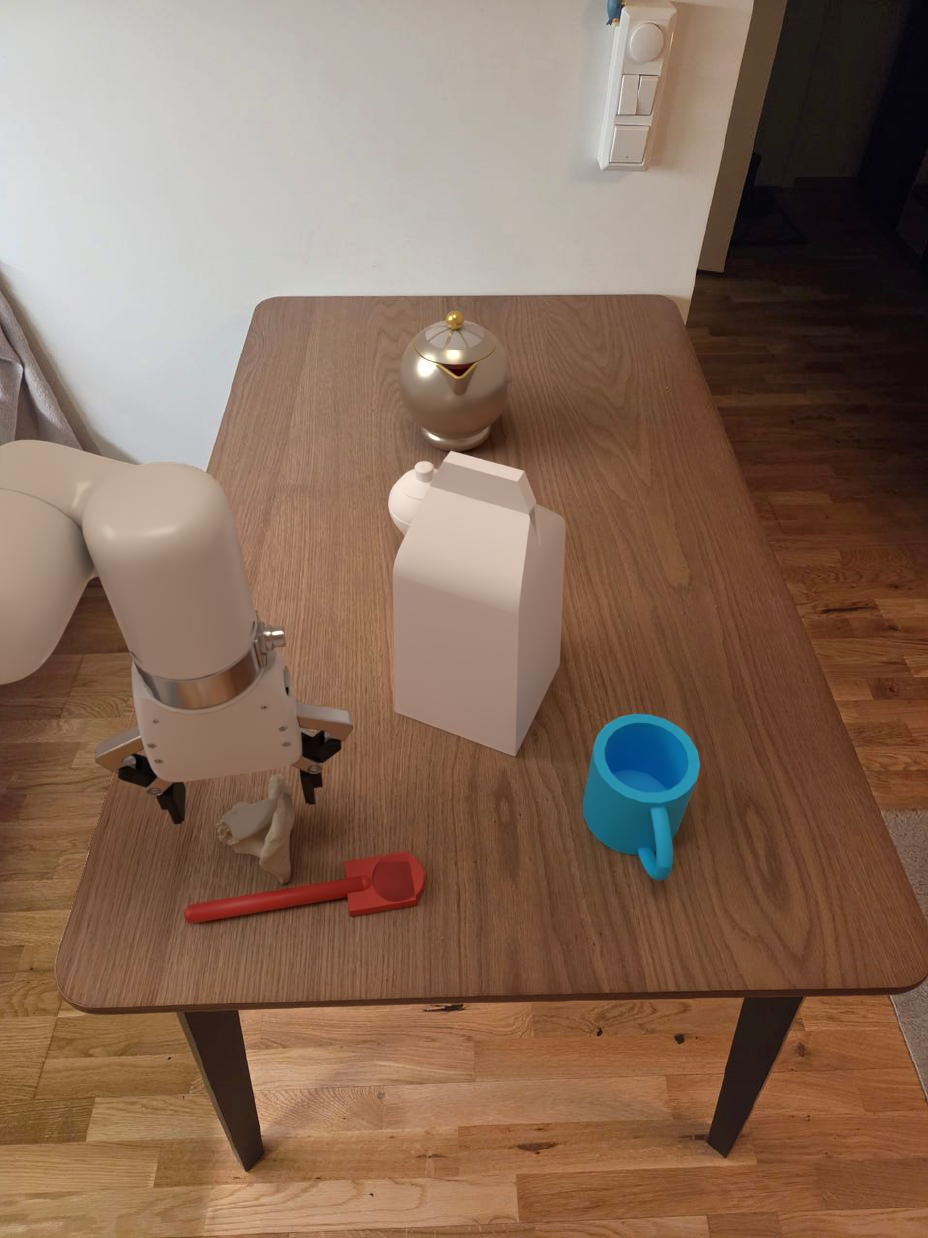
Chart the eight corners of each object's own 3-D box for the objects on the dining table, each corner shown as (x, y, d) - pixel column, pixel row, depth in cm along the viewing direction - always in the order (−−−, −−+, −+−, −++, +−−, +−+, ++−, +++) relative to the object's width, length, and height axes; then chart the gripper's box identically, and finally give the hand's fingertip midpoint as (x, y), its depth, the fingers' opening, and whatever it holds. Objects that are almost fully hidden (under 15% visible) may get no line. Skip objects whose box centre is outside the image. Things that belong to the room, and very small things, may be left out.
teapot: (515, 467, 104) (522, 343, 92) (403, 472, 103) (395, 348, 91) (500, 385, 116) (504, 266, 104) (399, 389, 115) (392, 270, 103)
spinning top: (391, 533, 96) (384, 444, 87) (460, 529, 96) (460, 441, 88) (393, 581, 91) (385, 492, 82) (465, 577, 91) (465, 488, 82)
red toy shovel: (185, 945, 65) (180, 938, 64) (187, 893, 67) (183, 885, 66) (428, 903, 67) (427, 895, 66) (420, 854, 70) (420, 846, 69)
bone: (215, 787, 72) (258, 732, 65) (287, 803, 75) (335, 753, 68) (197, 887, 67) (243, 839, 60) (276, 900, 69) (327, 856, 63)
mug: (573, 773, 75) (583, 718, 69) (665, 764, 75) (682, 709, 69) (604, 905, 67) (618, 856, 61) (706, 894, 67) (730, 844, 61)
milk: (394, 712, 79) (372, 490, 60) (447, 627, 86) (442, 405, 67) (515, 757, 76) (532, 537, 57) (559, 665, 83) (588, 442, 64)
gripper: (337, 592, 56) (355, 741, 69) (59, 623, 54) (131, 771, 66) (347, 681, 51) (365, 824, 64) (42, 719, 49) (123, 860, 61)
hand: (245, 797), depth 65 cm, fingers open, 9 cm apart
